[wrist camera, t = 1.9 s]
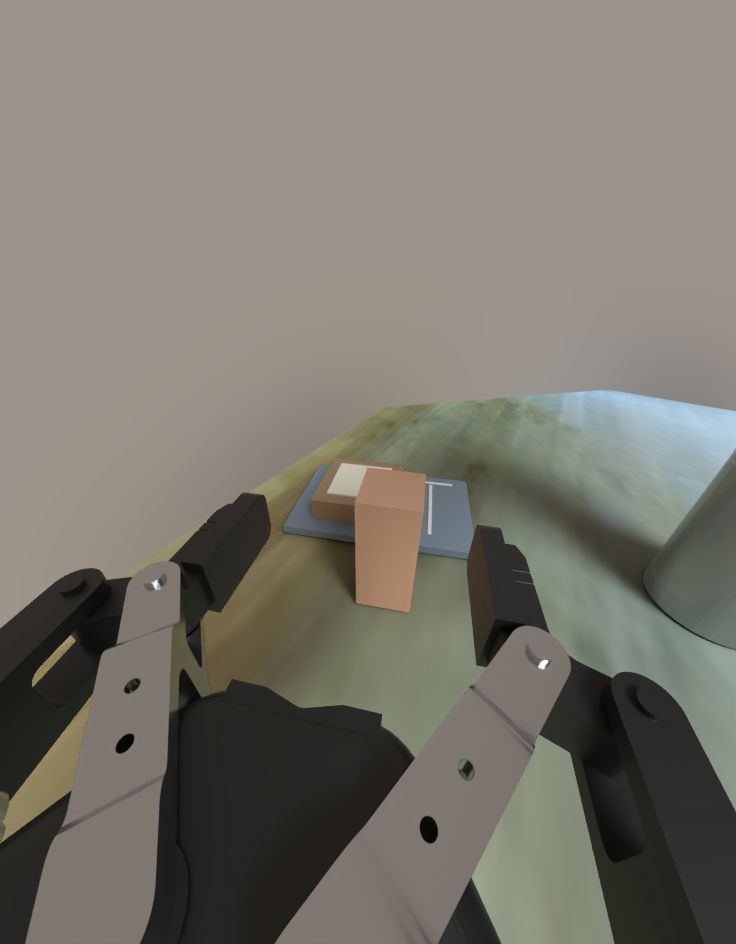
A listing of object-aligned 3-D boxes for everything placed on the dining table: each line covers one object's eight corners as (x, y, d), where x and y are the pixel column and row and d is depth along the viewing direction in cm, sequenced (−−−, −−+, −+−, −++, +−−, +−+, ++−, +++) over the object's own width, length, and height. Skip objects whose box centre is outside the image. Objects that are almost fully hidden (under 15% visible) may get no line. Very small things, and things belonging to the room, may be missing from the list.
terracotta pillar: (412, 569, 32) (425, 473, 26) (409, 612, 28) (423, 511, 22) (366, 562, 33) (367, 467, 27) (356, 603, 29) (354, 502, 22)
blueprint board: (464, 486, 45) (470, 463, 43) (474, 560, 33) (482, 533, 31) (320, 470, 48) (318, 447, 46) (283, 532, 37) (278, 506, 35)
